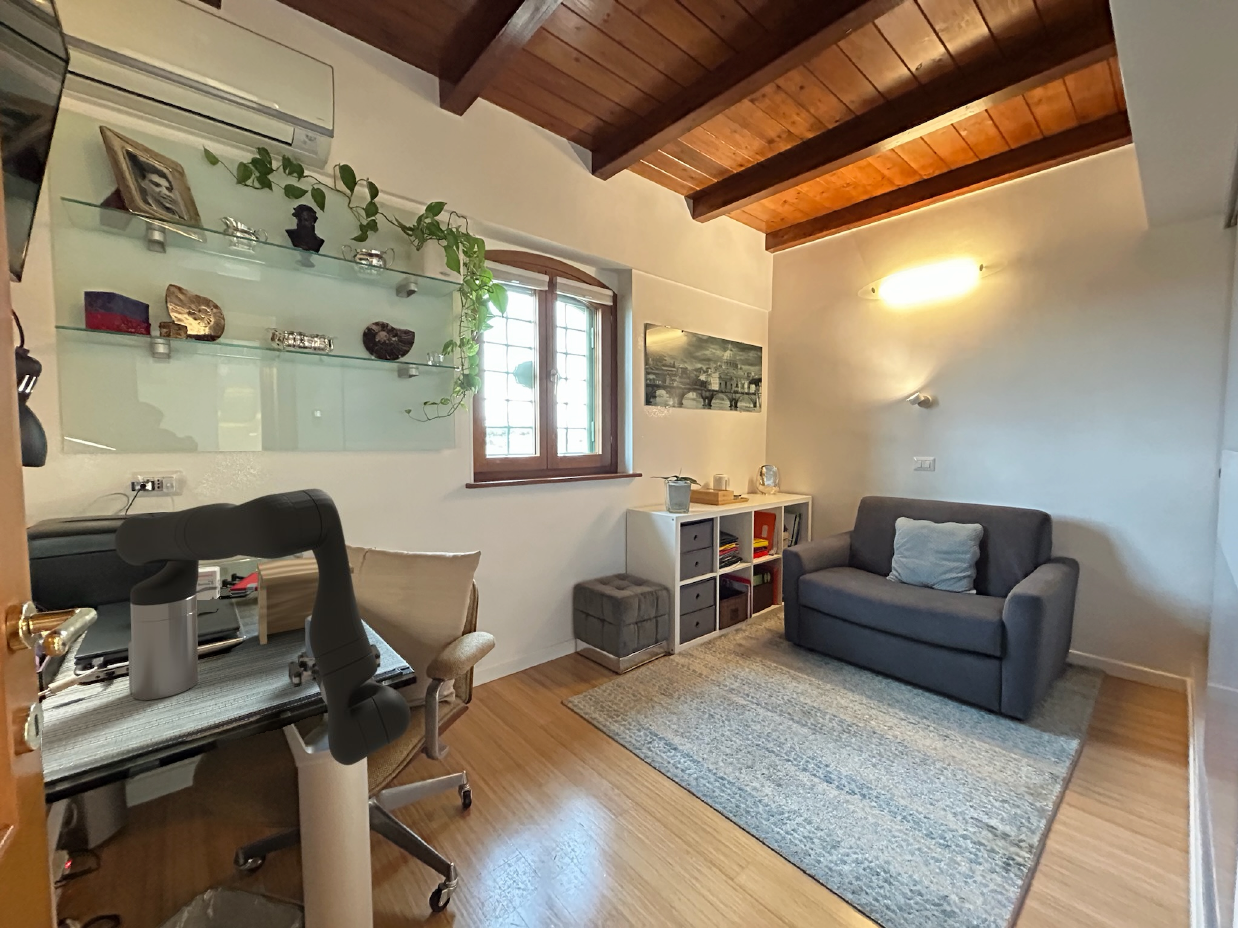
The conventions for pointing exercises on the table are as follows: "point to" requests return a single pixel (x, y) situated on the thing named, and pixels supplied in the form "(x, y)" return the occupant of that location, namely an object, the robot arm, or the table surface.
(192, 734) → the table surface
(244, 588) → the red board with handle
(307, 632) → the tumbler
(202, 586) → the ink box
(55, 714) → the table surface
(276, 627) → the wooden step stool
